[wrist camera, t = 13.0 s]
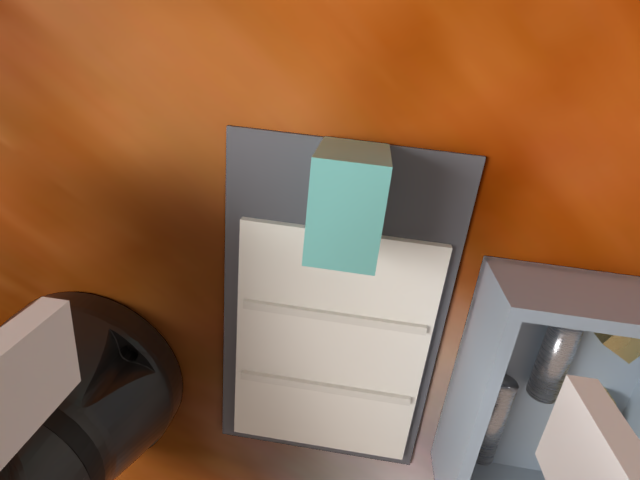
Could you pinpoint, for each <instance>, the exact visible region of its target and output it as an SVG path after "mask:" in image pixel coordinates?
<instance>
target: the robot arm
mask: <svg viewBox="0 0 640 480" xmlns="http://www.w3.org/2000/svg"><path fill="white" fill-rule="evenodd" d="M182 391H183V383H182V376H181V371H180V368H179V365H178V362H177V360H176V357H175V355H174V354H173V352H172V350H171V348H170V347H169V345H168V344H167V342H166V341H165V340H164V338H163V337H162V336H161V335H160V334H159V333H158V331H157V330H156V329H155V328H154V327H153V326H152V325H150V324H149V323H148V322H147V321H146V320H145V319H143V318H142V317H141V316H139V315H138V314H136V313H135V312H133V311H132V310H130V309H128V308H127V307H125V306H123V305H121V304H119V303H117V302H114V301H112V300H109V299H107V298H104V297H100V296H97V295H93V294H88V293H80V292H60V293H54V294H49V295H46V296H43V297H40V298H38V299H36V300H34V301H33V302H31V303H29V304H28V305H27V306H25V307H24V308H23V309H21V310H20V311H18V312H17V313H16V314H14V315H13V316H12V317H10V318H9V319H8V320H7V321H6V322H5V323H4V324H3V325H2V326H1V327H0V480H114V479H115V478H116V477H117V476H118V475H120V474H121V473H122V472H123V471H124V470H125V469H126V468H128V467H129V466H130V465H131V464H132V463H133V462H134V461H135V460H136V459H138V458H139V457H140V456H141V455H142V454H143V453H144V452H145V451H146V450H147V449H148V448H150V447H151V446H153V445H154V444H155V443H156V442H157V441H158V440H159V439H160V438H161V436H162V435H163V434H164V432H165V431H166V429H167V428H168V426H169V424H170V422H171V421H172V419H173V417H174V415H175V413H176V412H177V410H178V408H179V405H180V402H181V398H182ZM535 455H536V458H537V460H538V463H539V465H540V468H541V470H542V473H543V475H544V478H545V480H640V440H639V438H638V437H637V435H636V434H635V433H634V431H633V430H632V428H631V427H630V425H629V424H628V422H627V421H626V419H625V418H624V416H623V415H622V414H621V412H620V411H619V409H618V408H617V406H616V405H615V403H614V402H613V400H612V399H611V398H610V396H609V395H608V393H607V392H606V390H605V389H604V387H603V386H602V384H601V383H600V381H599V380H598V379H594V378H587V377H580V376H574V375H566V377H565V380H564V382H563V385H562V387H561V390H560V392H559V395H558V397H557V400H556V402H555V405H554V407H553V410H552V412H551V415H550V417H549V420H548V422H547V425H546V427H545V430H544V432H543V435H542V437H541V440H540V442H539V445H538V447H537V450H536V452H535Z"/></svg>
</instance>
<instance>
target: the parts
mask: <svg viewBox="0 0 640 480" xmlns="http://www.w3.org/2000/svg"><path fill="white" fill-rule="evenodd" d="M583 333H584V331H582V330H575V329H568V328H561V327H554V326H548V327H547V330H546V333H545V336H544V338H543V341H542V344H541V347H540V350H539V352H538V355H537V358H536V361H535V363H534V366H533V369H532V372H531V375H530V377H529V380H528V383H527V386H526V391H527V393H528V394H529V396H530V397H532V398H533V399H535V400H536V401H538V402H541V403H544V404H553V403H555V402H556V400H557V397H558V395H559V392H560V390H561V387H562V385H563V382H564V380H565V377H566V375H567V373H568V370H569V368H570V365H571V363H572V360H573V358H574V355H575V353H576V350H577V348H578V346H579V343H580V341H581V338H582V336H583ZM593 333H594V334H595V335H596V336H597V338H598V339H599V340H600V342H601V343H602V344H603V345H604V346H606V347H607V348H608V349H610V350H611V351H612V352H614V353H615V354H616V355H618V356H619V357H620V358H622V359H623V360H624V361H626V362H627V363H628V364H630V363H631V362H632V361H634V360H635V359H637V358H638V357H639V356H640V339H637V338H630V337H623V336H616V335H609V334H602V333H596V332H593ZM518 388H519V385H518V383H517V381H516V380H515V379H514V378H512V377H511V376H509V375H507V374H505V376H504V379H503V382H502V385H501V388H500V391H499V394H498V397H497V400H496V403H495V406H494V409H493V412H492V415H491V418H490V421H489V424H488V427H487V430H486V433H485V436H484V439H483V442H482V445H481V448H480V451H479V454H478V457H477V460H476V463H477V464H479V465H483V466H487V465H490V464H491V463H492V462H493V459H494V456H495V454H496V451H497V448H498V445H499V442H500V439H501V437H502V434H503V431H504V428H505V425H506V422H507V420H508V417H509V414H510V411H511V408H512V405H513V402H514V400H515V397H516V394H517V391H518ZM604 389H605V390H606V392H607V393H608V395H609V396H610V398H611V399H612V400H613V398H612V397H611V395H610V394H609V392H608V391H607V389H606V388H605V387H604ZM613 402H614V403H615V401H614V400H613ZM615 405H616V403H615Z"/></svg>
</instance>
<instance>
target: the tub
mask: <svg viewBox="0 0 640 480" xmlns="http://www.w3.org/2000/svg"><path fill="white" fill-rule="evenodd" d="M548 326H554V327H561V328H568V329H575V330H582V331H584V333H583V336H582V338H581V341H580V343H579V346H578V348H577V350H576V353H575V355H574V358H573V360H572V363H571V365H570V368H569V370H568V373H567V375H574V376H580V377H587V378H594V379H598V380H599V381H600V383H601V384H602V386H603V387H605V388H606V389H607V391H608V392H609V394H610V395H611V397H612V398H613V400H614V401H615V403H616V406H617V408H618V409H619V411H620V412H621V414H622V415H623V416H624V418H625V419H626V421H627V422H628V424H629V425H630V427H631V428H632V430H633V431H634V433H635V434H636V435H637V437H638V438H639V440H640V356H639V357H638V358H637V359H635V360H634V361H632V362H631V363H630V364H628V363H627V362H626V361H624V360H623V359H622V358H620V357H619V356H618V355H616V354H615V353H614V352H612V351H611V350H610V349H608V348H607V347H606V346H604V345H603V344H602V343H601V342H600V340H599V339H598V338H597V336H596V335H595V334H594V333H593V332H596V333H602V334H609V335H616V336H623V337H630V338H637V339H640V277H638V276H631V275H624V274H616V273H609V272H601V271H594V270H587V269H579V268H572V267H564V266H557V265H550V264H542V263H535V262H527V261H520V260H513V259H505V258H498V257H490V256H484V257H483V261H482V264H481V268H480V272H479V276H478V279H477V283H476V287H475V290H474V294H473V298H472V301H471V305H470V309H469V312H468V316H467V320H466V324H465V327H464V331H463V335H462V338H461V342H460V346H459V349H458V353H457V357H456V360H455V364H454V368H453V372H452V375H451V379H450V383H449V386H448V390H447V394H446V397H445V401H444V405H443V408H442V412H441V416H440V420H439V423H438V427H437V431H436V434H435V438H434V442H433V445H432V449H431V458H432V465H433V472H434V480H545V478H544V475H543V473H542V470H541V468H540V465H539V463H538V460H537V458H536V455H535V452H536V450H537V447H538V445H539V442H540V440H541V437H542V435H543V432H544V430H545V427H546V425H547V422H548V420H549V417H550V415H551V412H552V410H553V407H554V405H555V403H553V404H544V403H541V402H538V401H536V400H535V399H533V398H532V397H530V396H529V394H528V393H527V391H526V386H527V383H528V380H529V377H530V375H531V372H532V369H533V366H534V363H535V361H536V358H537V355H538V352H539V350H540V347H541V344H542V341H543V338H544V336H545V333H546V330H547V327H548ZM505 374H507V375H509V376H511V377H512V378H514V379H515V380H516V381H517V383H518V385H519V388H518V391H517V394H516V397H515V400H514V402H513V405H512V408H511V411H510V414H509V417H508V420H507V422H506V425H505V428H504V431H503V434H502V437H501V439H500V442H499V445H498V448H497V451H496V454H495V456H494V459H493V462H492V463H491V464H490V465H487V466H483V465H479V464H477V463H476V460H477V457H478V454H479V451H480V448H481V445H482V442H483V439H484V436H485V433H486V430H487V427H488V424H489V421H490V418H491V415H492V412H493V409H494V406H495V403H496V400H497V397H498V394H499V391H500V388H501V385H502V382H503V379H504V376H505Z"/></svg>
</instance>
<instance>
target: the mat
mask: <svg viewBox="0 0 640 480" xmlns="http://www.w3.org/2000/svg"><path fill="white" fill-rule="evenodd" d="M323 138H324V137H322V136H314V135H306V134H297V133H289V132H281V131H272V130H264V129H256V128H247V127H239V126H231V125H227V133H226V207H225V282H224V357H223V432H222V433H223V434H228V435H234V436H240V437H246V438H252V439H258V440H264V441H270V442H276V443H282V444H288V445H294V446H300V447H306V448H312V449H318V450H324V451H329V452H335V453H341V454H347V455H353V456H359V457H365V458H371V459H377V460H383V461H389V462H395V463H401V464H407V465H410V461H411V457H412V453H413V449H414V445H415V441H416V437H417V433H418V429H419V425H420V421H421V417H422V413H423V409H424V405H425V401H426V397H427V392H428V388H429V384H430V380H431V376H432V372H433V368H434V364H435V360H436V356H437V352H438V348H439V344H440V340H441V336H442V332H443V328H444V324H445V320H446V316H447V312H448V308H449V304H450V300H451V296H452V292H453V288H454V284H455V280H456V276H457V272H458V268H459V264H460V260H461V256H462V252H463V248H464V244H465V240H466V236H467V232H468V228H469V224H470V220H471V216H472V211H473V207H474V203H475V199H476V195H477V191H478V187H479V183H480V179H481V175H482V171H483V167H484V163H485V159H486V157H485V156H480V155H472V154H464V153H455V152H447V151H439V150H430V149H422V148H414V147H405V146H397V145H390V151H391V158H392V165H393V169H392V175H391V181H390V187H389V193H388V199H387V205H386V211H385V217H384V224H383V230H382V235H384V236H391V237H399V238H406V239H414V240H421V241H428V242H436V243H443V244H451V245H452V248H453V249H452V253H451V257H450V261H449V265H448V270H447V274H446V278H445V282H444V286H443V291H442V295H441V299H440V303H439V307H438V312H437V316H436V320H435V324H434V328H433V333H432V337H431V341H430V345H429V349H428V354H427V358H426V362H425V366H424V370H423V375H422V379H421V383H420V387H419V391H418V396H417V400H416V404H415V408H414V412H413V417H412V421H411V425H410V429H409V433H408V438H407V442H406V446H405V450H404V455H403V459H402V460H400V459H394V458H388V457H382V456H376V455H370V454H364V453H358V452H352V451H346V450H340V449H334V448H328V447H322V446H316V445H310V444H304V443H298V442H292V441H286V440H280V439H274V438H268V437H262V436H256V435H250V434H245V433H239V432H234V416H235V379H236V343H237V306H238V269H239V233H240V219H241V218H242V217H249V218H257V219H264V220H272V221H279V222H287V223H294V224H302V225H305V223H306V212H307V201H308V190H309V179H310V168H311V157H312V156H313V154H314V152H315V151H316V149H317V147H318V146H319V144H320V143H321V141H322V139H323Z"/></svg>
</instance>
